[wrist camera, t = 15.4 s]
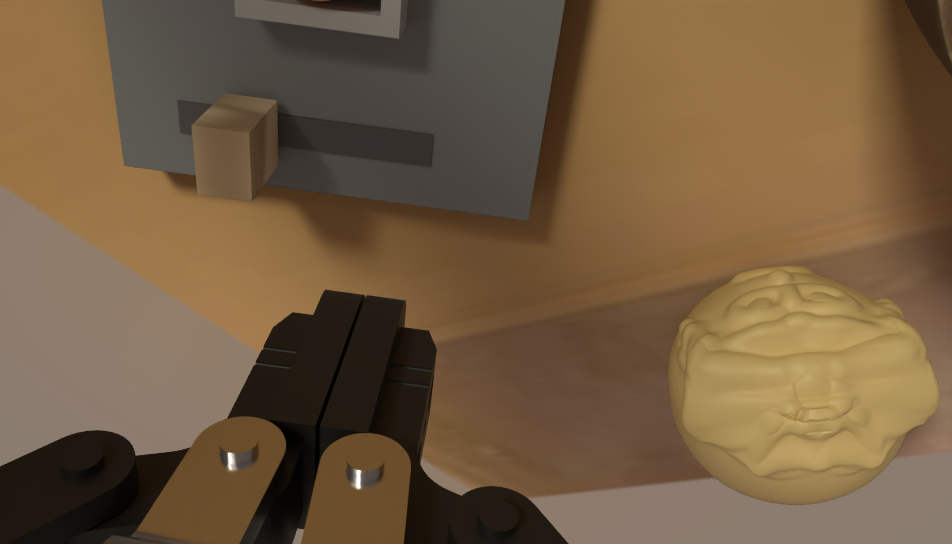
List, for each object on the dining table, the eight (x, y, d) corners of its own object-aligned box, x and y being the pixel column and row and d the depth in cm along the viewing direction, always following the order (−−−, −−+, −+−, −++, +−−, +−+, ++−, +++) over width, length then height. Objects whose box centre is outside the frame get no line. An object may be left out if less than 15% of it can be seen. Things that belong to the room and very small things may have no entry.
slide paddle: (228, 157, 38) (197, 194, 34) (225, 93, 36) (191, 125, 32) (278, 164, 38) (251, 202, 34) (277, 100, 36) (249, 133, 32)
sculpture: (879, 220, 40) (979, 349, 31) (863, 400, 46) (942, 553, 37) (650, 247, 42) (680, 376, 33) (663, 417, 48) (692, 567, 39)
